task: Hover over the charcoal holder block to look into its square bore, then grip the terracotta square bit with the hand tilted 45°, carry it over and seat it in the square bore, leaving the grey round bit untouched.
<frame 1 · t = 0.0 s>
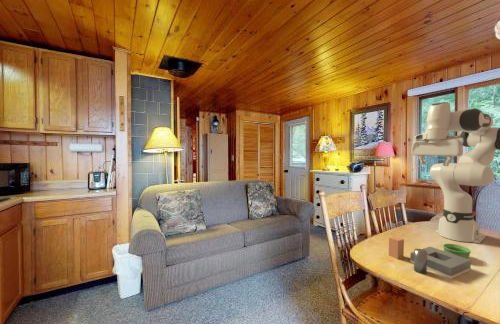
hand: (434, 165, 112), 39 cm above the table, tool pointing down, fingers open, 8 cm apart
ramekin: (456, 258, 101), on the table
holder block: (439, 266, 94), on the table
square bit: (395, 256, 103), on the table
round bit: (420, 271, 90), on the table
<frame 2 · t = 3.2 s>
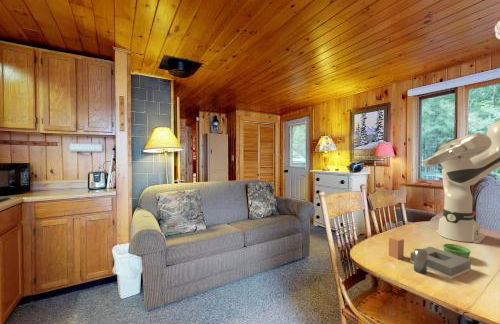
hand: (439, 158, 88), 43 cm above the table, tool horizontal, fingers open, 8 cm apart
nothing on the table moved.
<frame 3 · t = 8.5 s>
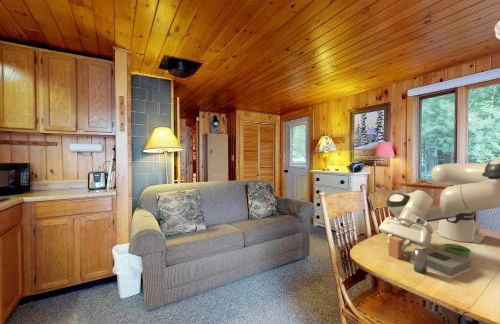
hand: (395, 246, 102), 4 cm above the table, tool tilted 45°, fingers closed on square bit, 4 cm apart
square bit: (395, 256, 103), on the table, touching gripper
everything else where it was.
when the fingers open (7 cm above the table, at t = 15.2 s): square bit drops 1 cm, resting on holder block.
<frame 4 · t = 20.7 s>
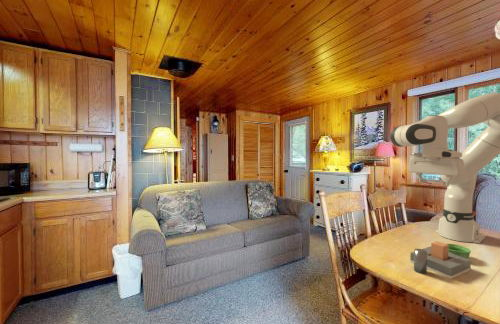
hand: (433, 184, 104), 31 cm above the table, tool pointing down, fingers open, 8 cm apart
square bit: (439, 263, 94), point 1 cm above the table, touching holder block
everything else where it was.
at the end: square bit 0.1 cm off-centre on the holder block, point 1.0 cm above the holder block's base; square bit tilted 0°; round bit moved 0.0 cm from its start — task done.
